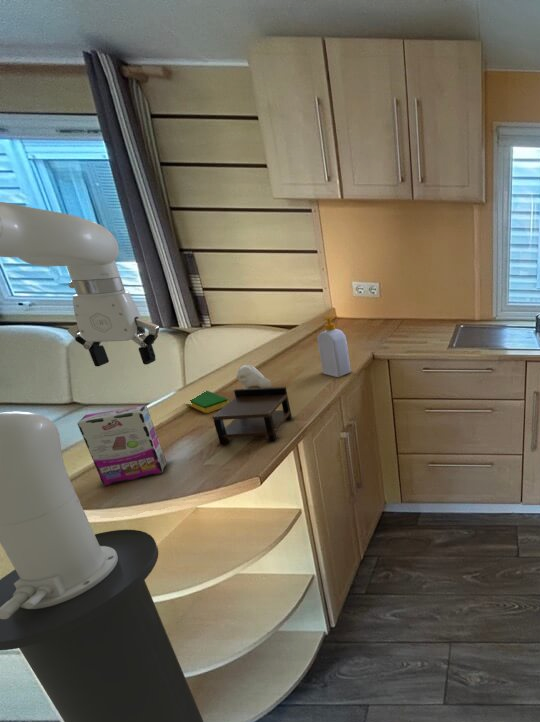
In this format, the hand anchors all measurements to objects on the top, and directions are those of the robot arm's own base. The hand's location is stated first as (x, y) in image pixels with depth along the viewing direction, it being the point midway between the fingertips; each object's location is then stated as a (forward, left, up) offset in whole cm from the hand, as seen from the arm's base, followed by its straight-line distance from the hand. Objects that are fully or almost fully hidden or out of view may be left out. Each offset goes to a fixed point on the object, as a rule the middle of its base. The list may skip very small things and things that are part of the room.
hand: (126, 363), depth 91 cm
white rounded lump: (+48, -4, -27) cm, 55 cm away
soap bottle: (+62, -28, -27) cm, 73 cm away
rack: (+15, -17, -27) cm, 35 cm away
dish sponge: (+36, +7, -27) cm, 46 cm away
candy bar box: (-4, +3, -27) cm, 27 cm away
